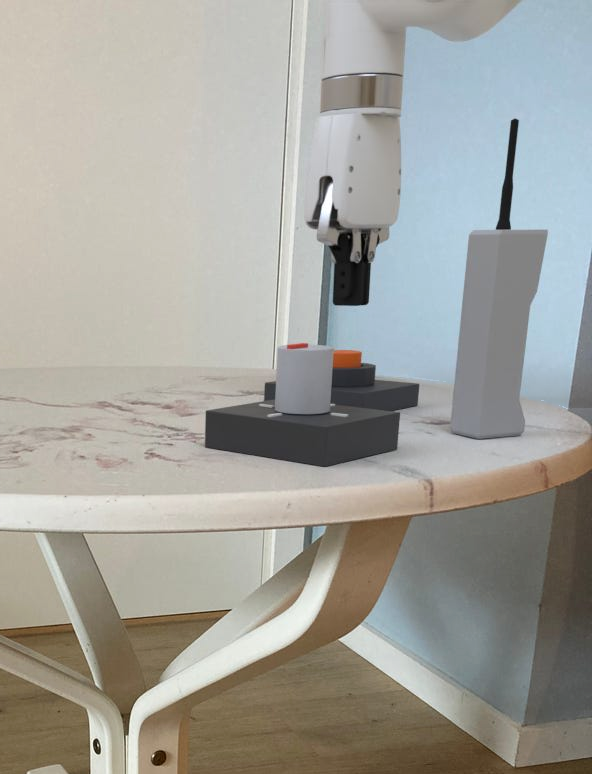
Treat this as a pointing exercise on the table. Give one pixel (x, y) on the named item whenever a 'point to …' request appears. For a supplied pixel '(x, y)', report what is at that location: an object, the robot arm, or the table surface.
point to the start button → (347, 358)
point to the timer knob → (303, 379)
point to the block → (364, 390)
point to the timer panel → (302, 432)
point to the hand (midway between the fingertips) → (350, 304)
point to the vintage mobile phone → (496, 321)
